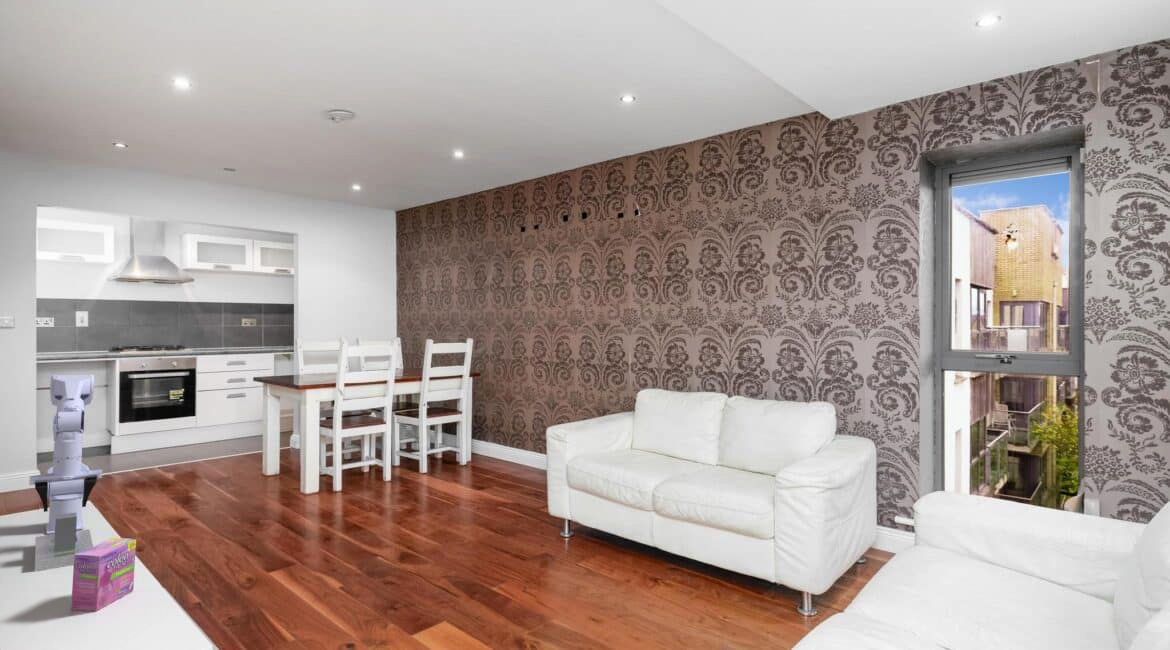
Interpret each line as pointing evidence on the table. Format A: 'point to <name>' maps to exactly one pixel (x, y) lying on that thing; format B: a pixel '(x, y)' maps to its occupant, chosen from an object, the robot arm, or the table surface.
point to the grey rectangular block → (65, 531)
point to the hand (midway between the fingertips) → (65, 508)
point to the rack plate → (51, 559)
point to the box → (103, 574)
